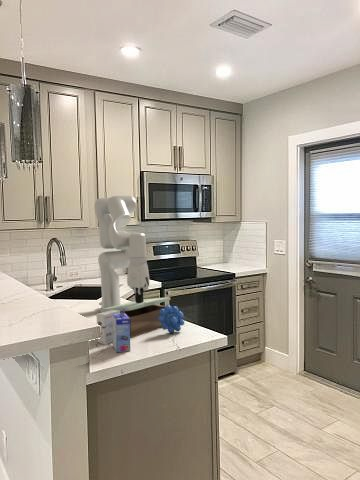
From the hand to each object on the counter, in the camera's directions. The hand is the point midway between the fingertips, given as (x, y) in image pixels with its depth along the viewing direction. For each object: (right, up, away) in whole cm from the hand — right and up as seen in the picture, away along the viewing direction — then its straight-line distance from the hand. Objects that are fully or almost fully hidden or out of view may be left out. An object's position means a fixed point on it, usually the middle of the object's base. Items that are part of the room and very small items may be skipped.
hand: (139, 302), depth 173 cm
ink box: (-10, -13, -17) cm, 23 cm away
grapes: (+15, -12, -9) cm, 21 cm away
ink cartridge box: (-4, -13, -26) cm, 29 cm away
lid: (-1, -2, +1) cm, 2 cm away
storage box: (-1, -11, +2) cm, 12 cm away
